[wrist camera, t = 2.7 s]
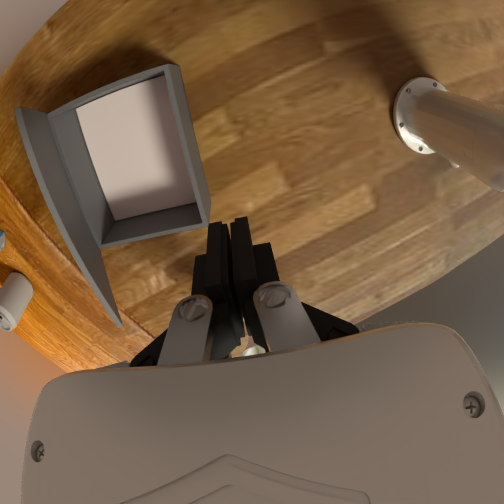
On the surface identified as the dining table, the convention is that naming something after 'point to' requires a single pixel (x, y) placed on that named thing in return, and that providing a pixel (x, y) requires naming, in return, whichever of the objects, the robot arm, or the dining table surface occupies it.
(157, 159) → the box
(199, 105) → the dining table surface
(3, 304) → the can
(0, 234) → the label tape box
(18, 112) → the mailer lid
